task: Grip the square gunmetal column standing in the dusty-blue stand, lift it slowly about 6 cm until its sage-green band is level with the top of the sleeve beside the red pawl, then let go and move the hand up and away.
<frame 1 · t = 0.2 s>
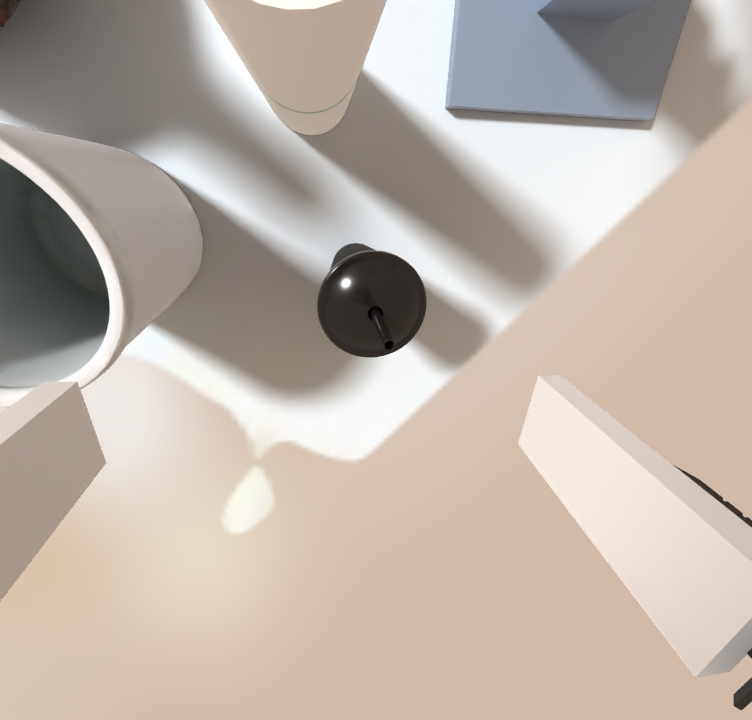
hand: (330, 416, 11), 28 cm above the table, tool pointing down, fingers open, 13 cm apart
utensil holder: (127, 234, 32), on the table
cylindrical container: (307, 85, 29), on the table
drinking cup: (355, 266, 37), on the table
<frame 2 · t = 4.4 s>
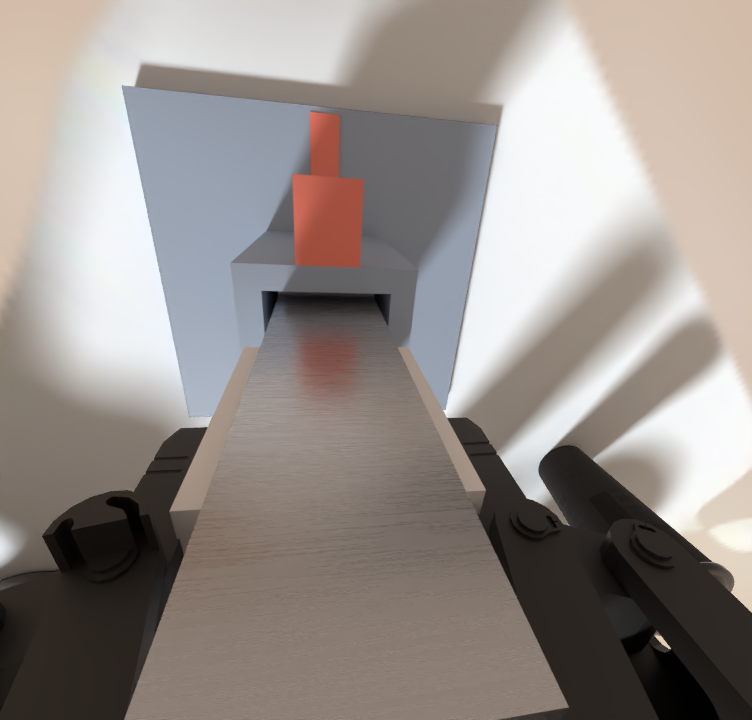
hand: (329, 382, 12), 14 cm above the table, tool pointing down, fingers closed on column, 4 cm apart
drinking cup: (559, 462, 36), on the table
column: (328, 364, 14), point 12 cm above the table, slide at 0.0 cm, touching gripper
stand: (324, 284, 24), on the table
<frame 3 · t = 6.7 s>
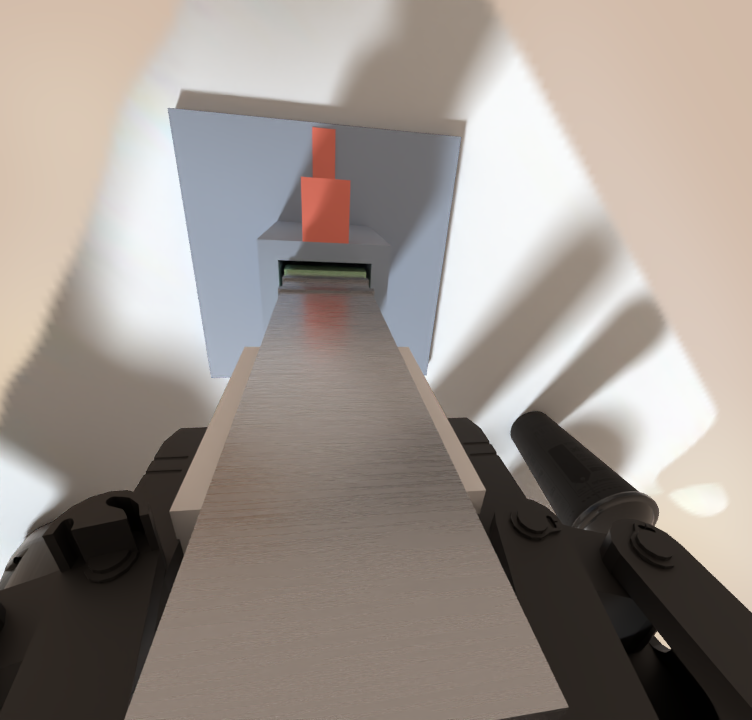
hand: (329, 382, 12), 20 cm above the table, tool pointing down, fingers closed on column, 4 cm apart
drinking cup: (528, 427, 42), on the table
column: (328, 364, 14), point 18 cm above the table, slide at 6.0 cm, touching gripper
stand: (323, 266, 30), on the table
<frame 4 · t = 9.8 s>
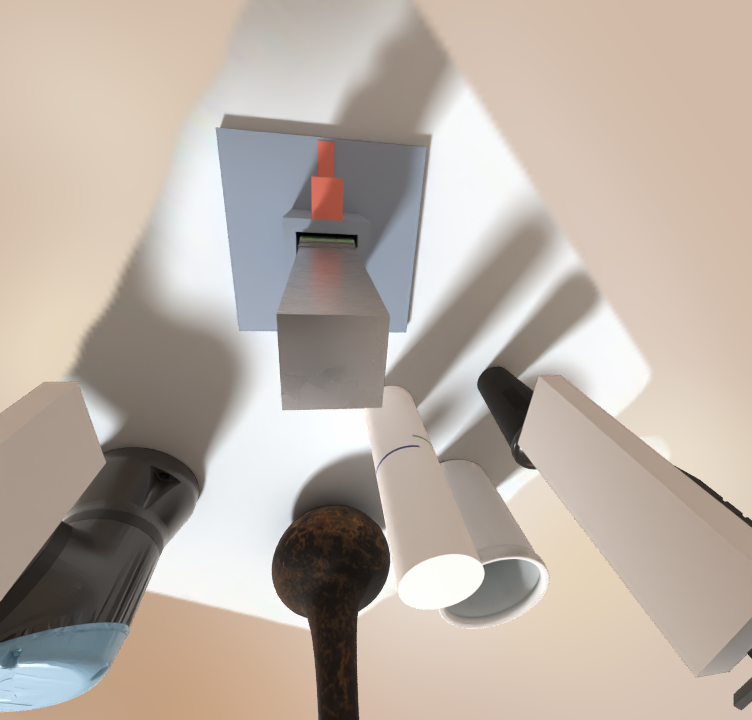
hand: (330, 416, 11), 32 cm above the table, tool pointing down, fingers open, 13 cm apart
utensil holder: (449, 487, 60), on the table
cylindrical container: (388, 406, 50), on the table
drinking cup: (492, 380, 51), on the table
column: (328, 287, 23), point 18 cm above the table, slide at 6.0 cm
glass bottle: (331, 524, 60), on the table
stand: (325, 244, 39), on the table
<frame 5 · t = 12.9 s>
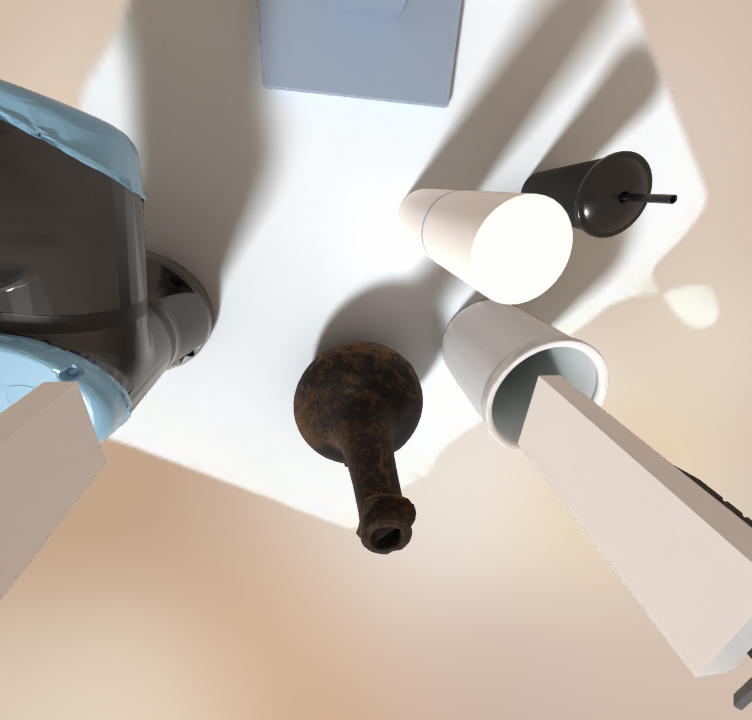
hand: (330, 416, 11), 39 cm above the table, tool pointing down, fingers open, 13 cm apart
utensil holder: (483, 339, 55), on the table
cylindrical container: (423, 219, 46), on the table
drinking cup: (537, 193, 46), on the table
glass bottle: (354, 380, 55), on the table
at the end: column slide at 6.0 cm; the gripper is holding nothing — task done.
